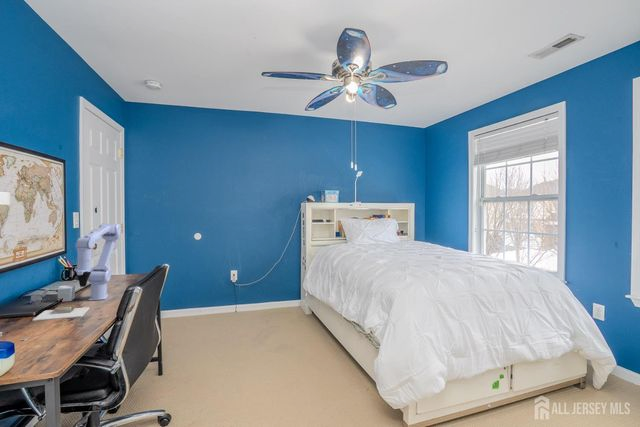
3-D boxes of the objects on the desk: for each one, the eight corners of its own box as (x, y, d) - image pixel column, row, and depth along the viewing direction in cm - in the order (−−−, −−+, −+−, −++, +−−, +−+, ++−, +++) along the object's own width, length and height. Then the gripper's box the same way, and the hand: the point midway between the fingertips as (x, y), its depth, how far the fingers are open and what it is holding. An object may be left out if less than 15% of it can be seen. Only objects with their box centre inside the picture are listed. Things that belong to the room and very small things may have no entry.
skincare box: (74, 298, 173) (75, 285, 173) (70, 301, 167) (71, 287, 167) (61, 299, 171) (62, 285, 171) (56, 302, 165) (57, 288, 165)
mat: (44, 311, 150) (44, 310, 150) (89, 308, 157) (89, 307, 157) (32, 321, 137) (32, 319, 137) (81, 316, 145) (81, 315, 145)
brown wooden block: (61, 303, 153) (55, 308, 146) (75, 302, 156) (70, 307, 148) (60, 308, 153) (54, 313, 146) (75, 307, 156) (70, 312, 148)
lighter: (30, 304, 159) (31, 289, 159) (31, 303, 160) (32, 288, 160) (48, 303, 162) (48, 288, 162) (49, 302, 164) (49, 287, 164)
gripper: (79, 258, 165) (77, 284, 165) (70, 262, 152) (68, 290, 151) (94, 258, 168) (93, 283, 168) (87, 262, 155) (86, 289, 154)
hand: (83, 286), depth 160 cm, fingers closed
